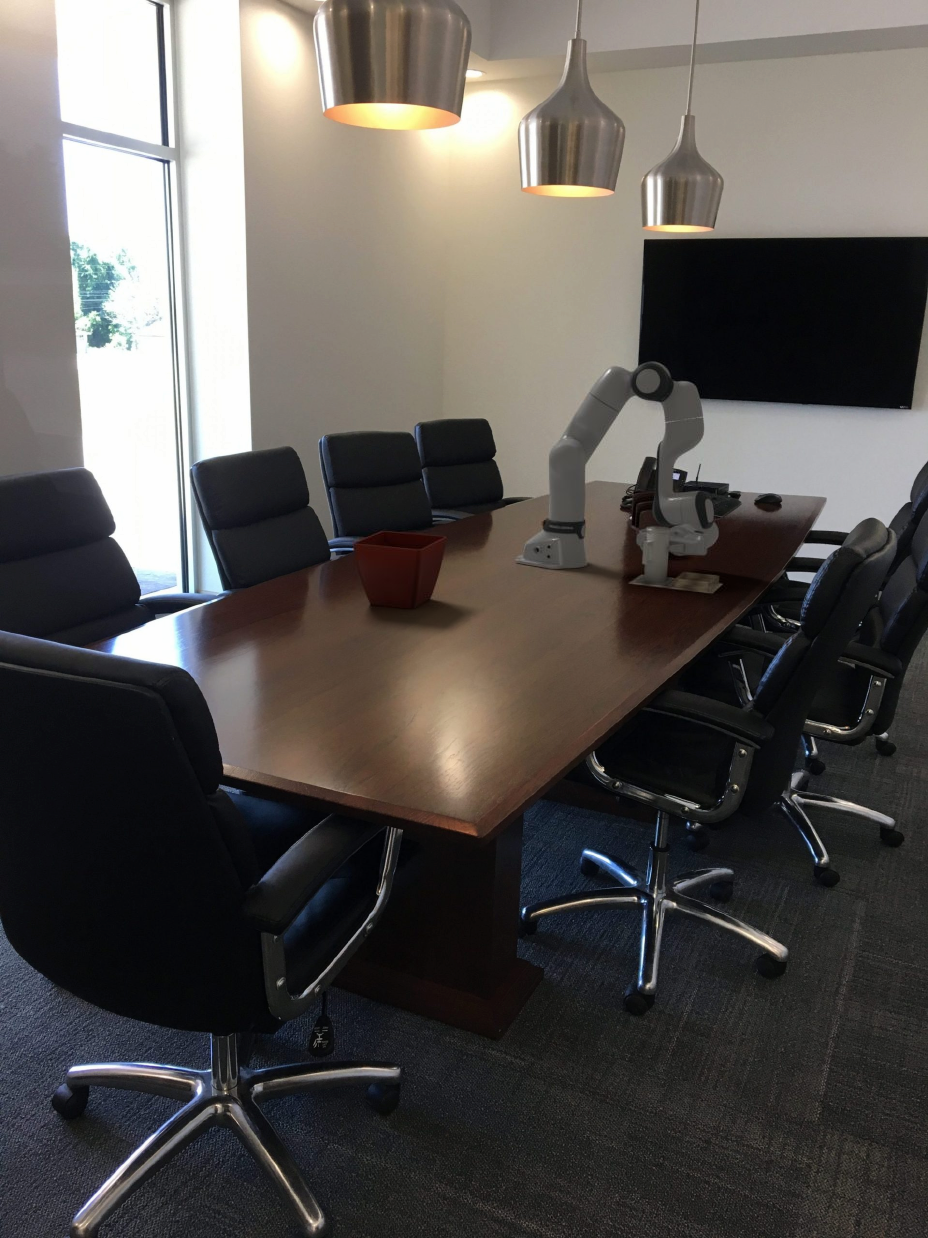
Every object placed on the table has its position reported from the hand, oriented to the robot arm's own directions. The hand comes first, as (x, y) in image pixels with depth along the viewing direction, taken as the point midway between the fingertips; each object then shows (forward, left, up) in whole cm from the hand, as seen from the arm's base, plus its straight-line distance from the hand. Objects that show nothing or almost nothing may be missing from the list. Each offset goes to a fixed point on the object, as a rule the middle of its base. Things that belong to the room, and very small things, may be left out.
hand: (655, 546), depth 285 cm
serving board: (+6, +1, -11) cm, 13 cm away
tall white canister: (0, 0, -10) cm, 10 cm away
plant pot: (-54, -52, -12) cm, 76 cm away
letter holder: (-23, +91, -12) cm, 95 cm away
